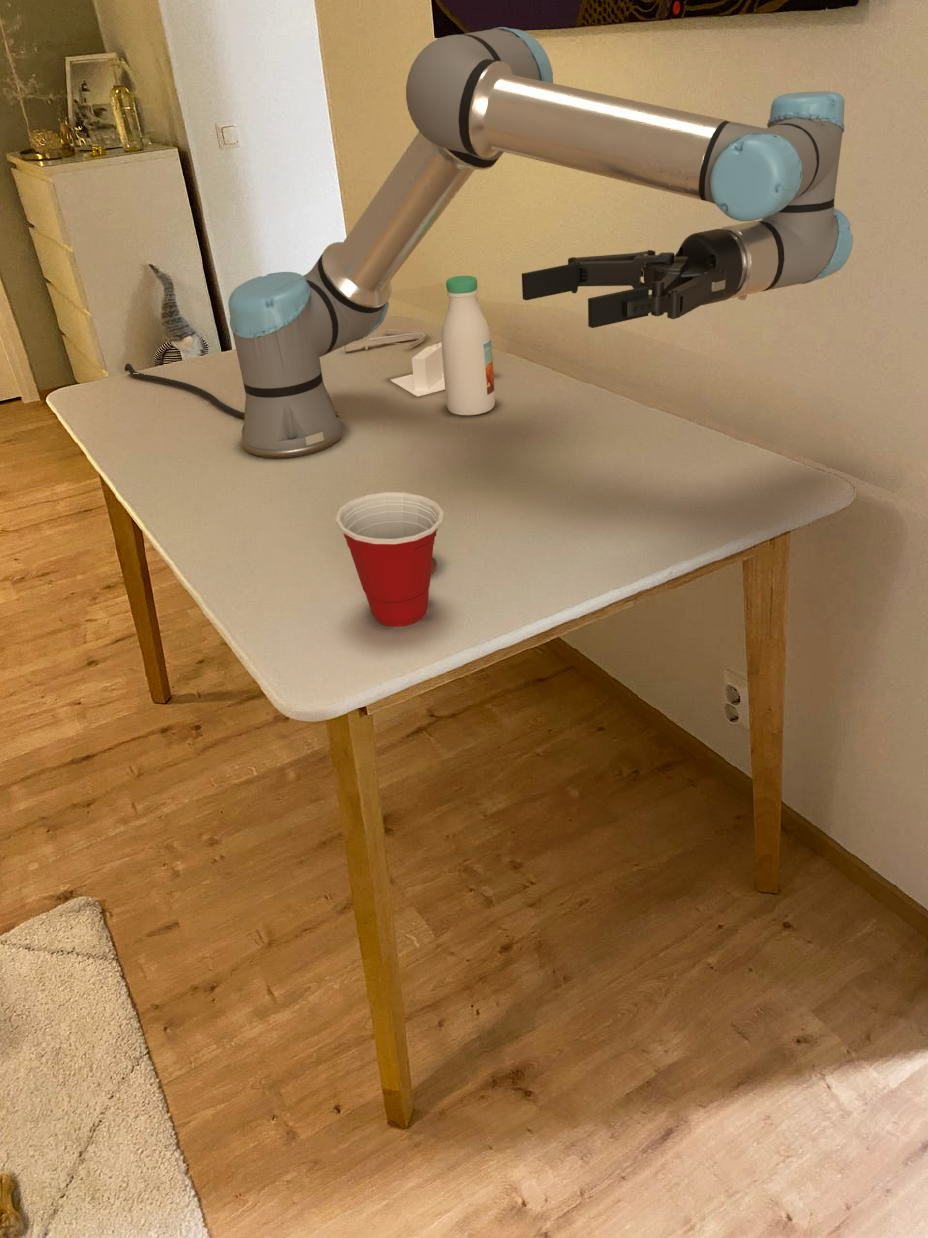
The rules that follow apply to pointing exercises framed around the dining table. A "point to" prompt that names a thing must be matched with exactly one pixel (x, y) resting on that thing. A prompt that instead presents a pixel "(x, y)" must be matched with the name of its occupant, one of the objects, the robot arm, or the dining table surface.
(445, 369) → the milk bottle
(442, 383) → the napkin holder
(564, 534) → the dining table surface
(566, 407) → the dining table surface
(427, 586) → the plastic cup
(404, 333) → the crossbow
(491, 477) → the dining table surface
